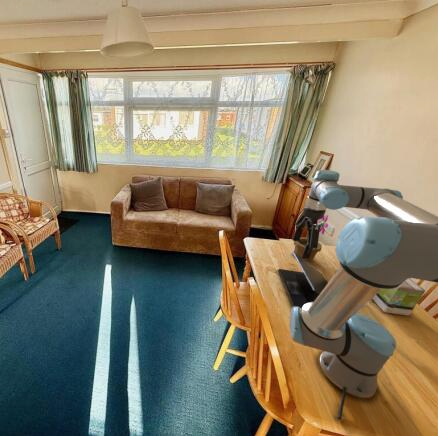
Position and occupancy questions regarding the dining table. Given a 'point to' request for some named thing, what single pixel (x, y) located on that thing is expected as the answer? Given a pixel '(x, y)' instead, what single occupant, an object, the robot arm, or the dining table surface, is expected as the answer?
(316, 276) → the laptop screen
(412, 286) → the tea box
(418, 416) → the dining table surface
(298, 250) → the flowerpot
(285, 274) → the laptop
